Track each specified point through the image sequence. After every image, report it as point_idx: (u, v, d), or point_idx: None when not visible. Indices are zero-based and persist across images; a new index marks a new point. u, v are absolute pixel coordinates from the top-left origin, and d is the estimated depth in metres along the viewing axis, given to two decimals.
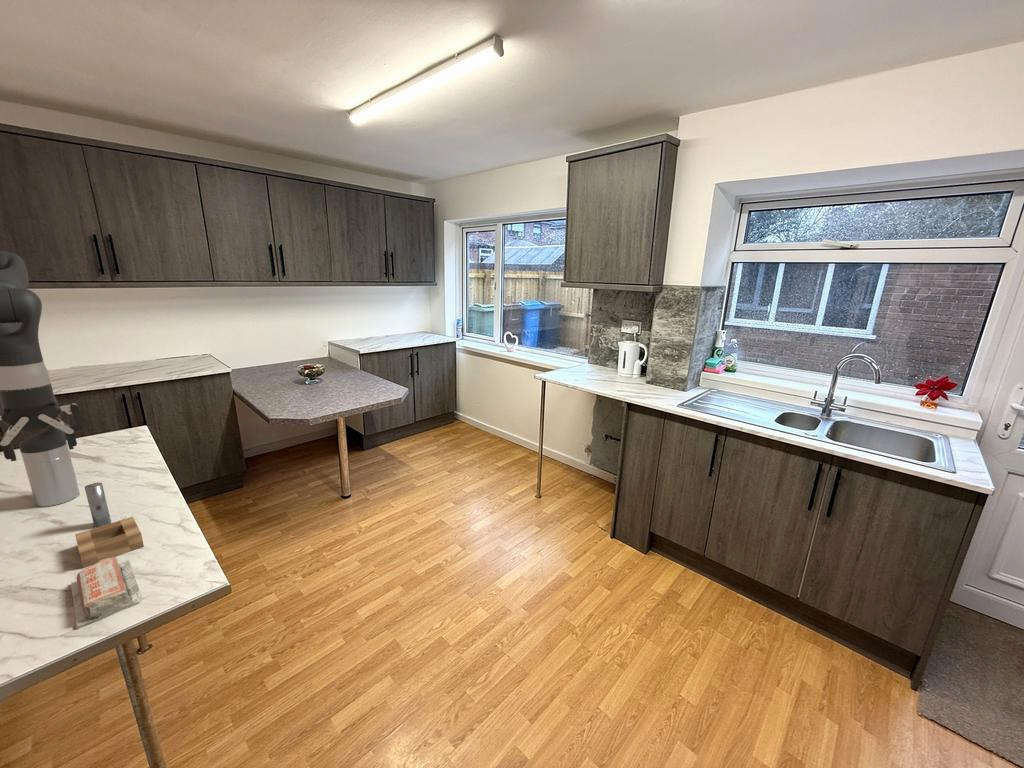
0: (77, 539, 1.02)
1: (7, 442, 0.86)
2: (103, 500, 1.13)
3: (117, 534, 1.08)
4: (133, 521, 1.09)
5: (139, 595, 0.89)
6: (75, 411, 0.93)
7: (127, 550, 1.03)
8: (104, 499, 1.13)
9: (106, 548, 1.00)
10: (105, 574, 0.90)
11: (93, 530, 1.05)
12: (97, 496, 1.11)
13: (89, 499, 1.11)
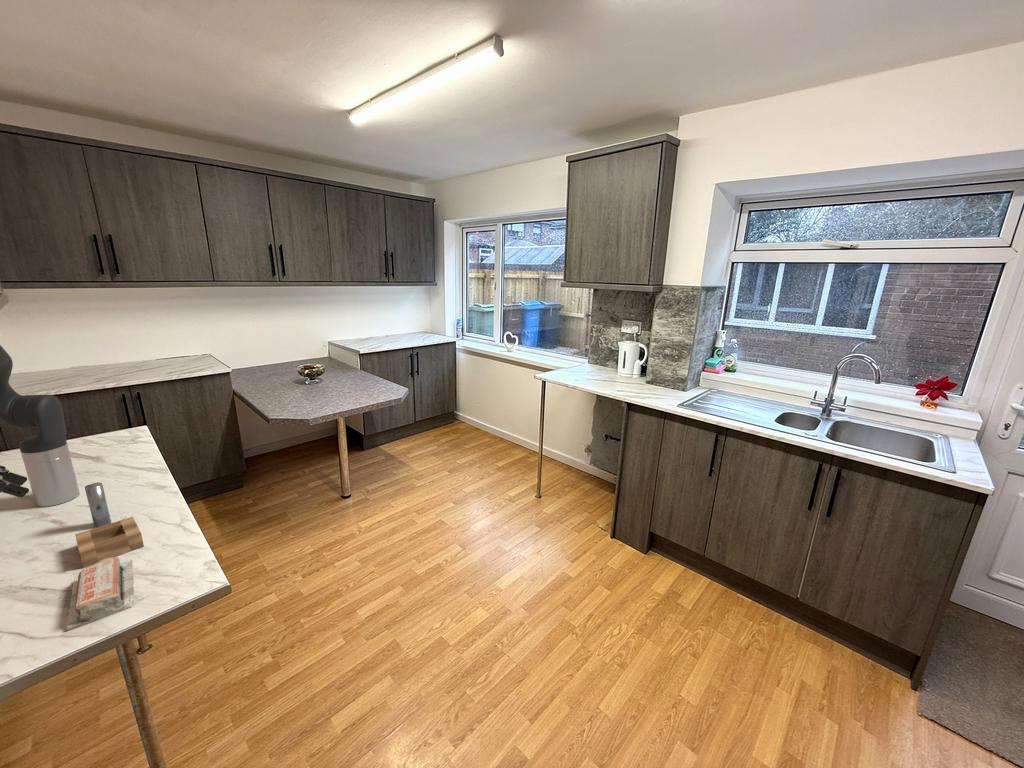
0: (77, 539, 1.02)
1: None
2: (103, 500, 1.13)
3: (117, 534, 1.08)
4: (133, 521, 1.09)
5: (132, 599, 0.88)
6: None
7: (127, 550, 1.03)
8: (104, 499, 1.13)
9: (106, 548, 1.00)
10: (103, 575, 0.90)
11: (93, 530, 1.05)
12: (97, 496, 1.11)
13: (89, 499, 1.11)
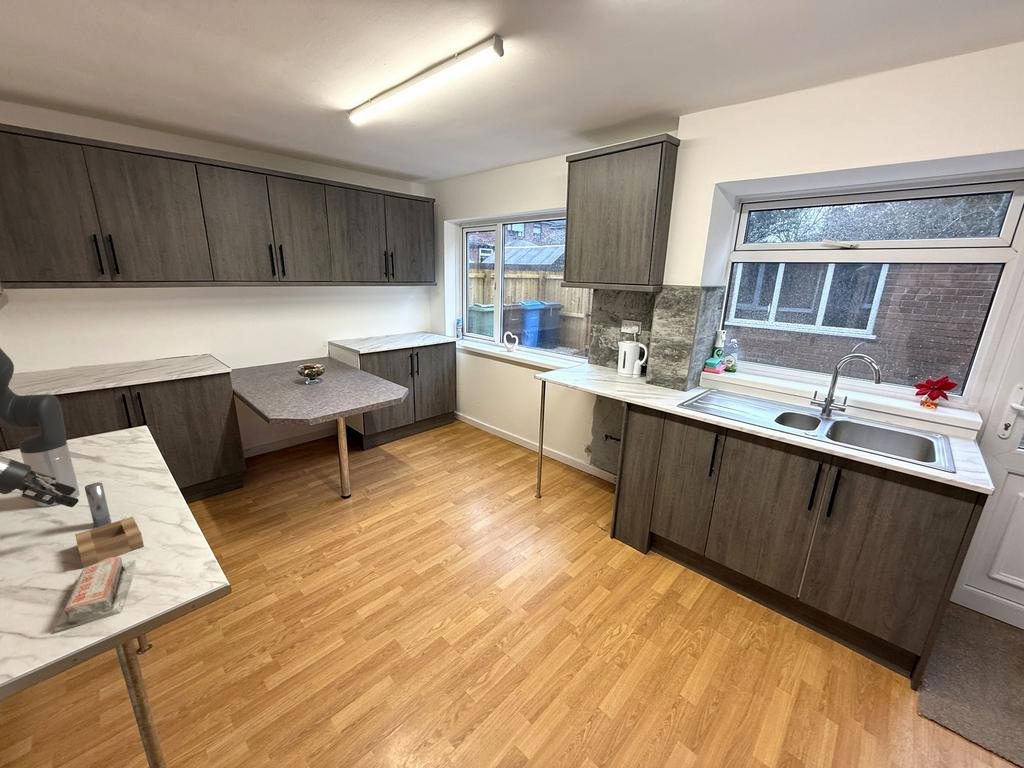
0: (77, 539, 1.02)
1: None
2: (103, 500, 1.13)
3: (117, 534, 1.08)
4: (133, 521, 1.09)
5: (121, 604, 0.86)
6: None
7: (127, 550, 1.03)
8: (104, 499, 1.13)
9: (106, 548, 1.00)
10: (100, 575, 0.90)
11: (93, 530, 1.05)
12: (97, 496, 1.11)
13: (89, 499, 1.11)
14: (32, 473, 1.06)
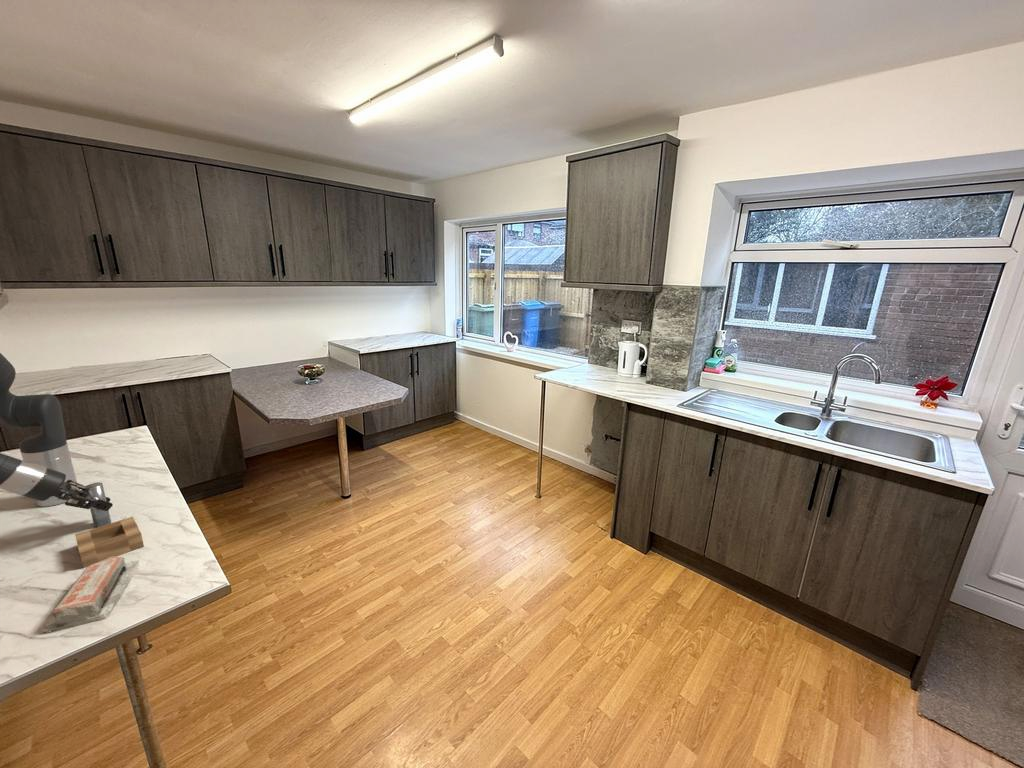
0: (77, 539, 1.02)
1: None
2: None
3: (117, 534, 1.08)
4: (133, 521, 1.09)
5: (109, 609, 0.85)
6: None
7: (127, 550, 1.03)
8: (104, 499, 1.13)
9: (106, 548, 1.00)
10: (97, 576, 0.89)
11: (93, 530, 1.05)
12: (97, 496, 1.11)
13: None
14: (70, 482, 1.12)
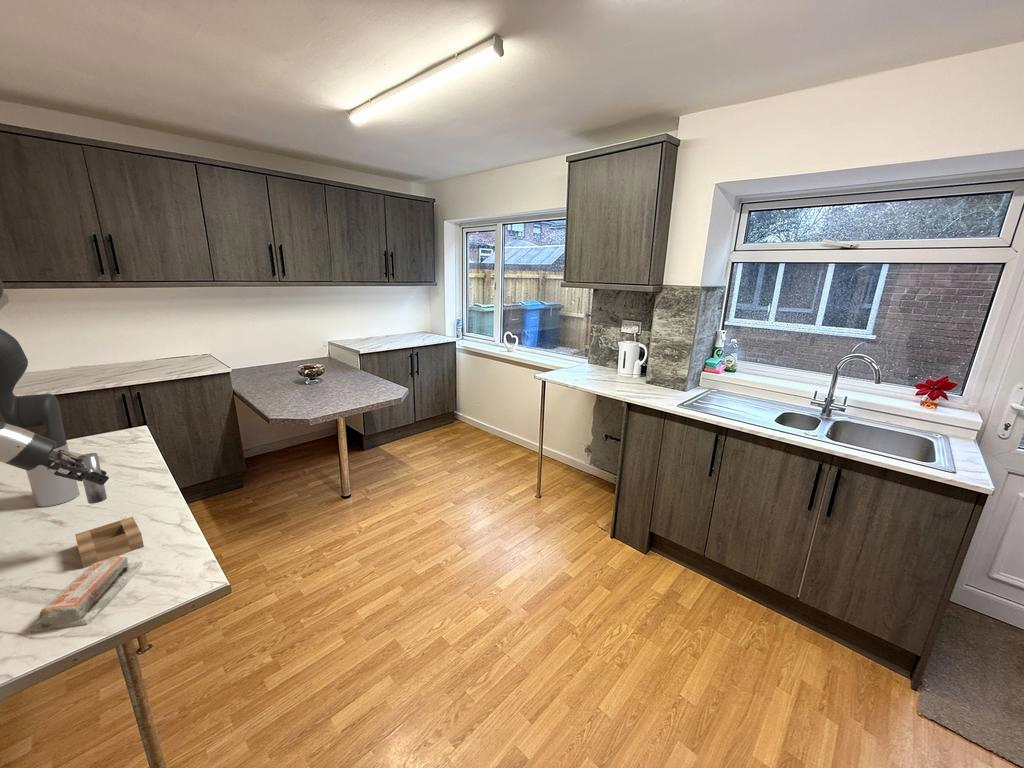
0: (77, 539, 1.02)
1: (79, 472, 1.00)
2: (98, 472, 1.01)
3: (117, 534, 1.08)
4: (133, 521, 1.09)
5: (93, 614, 0.83)
6: None
7: (127, 550, 1.03)
8: (99, 471, 1.01)
9: (106, 548, 1.00)
10: (93, 577, 0.89)
11: (93, 530, 1.05)
12: (91, 468, 0.99)
13: None
14: None
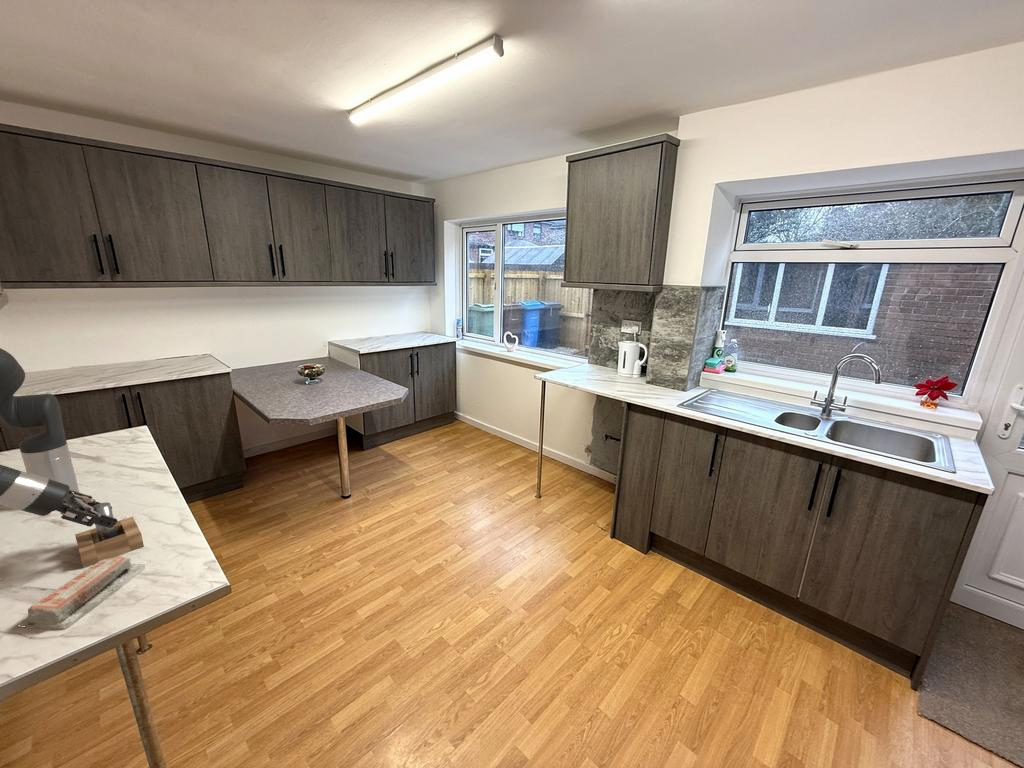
0: (77, 539, 1.02)
1: None
2: None
3: None
4: (133, 521, 1.09)
5: (72, 619, 0.82)
6: None
7: (127, 550, 1.03)
8: None
9: (106, 548, 1.00)
10: (89, 576, 0.89)
11: (93, 530, 1.05)
12: None
13: None
14: (69, 492, 1.01)
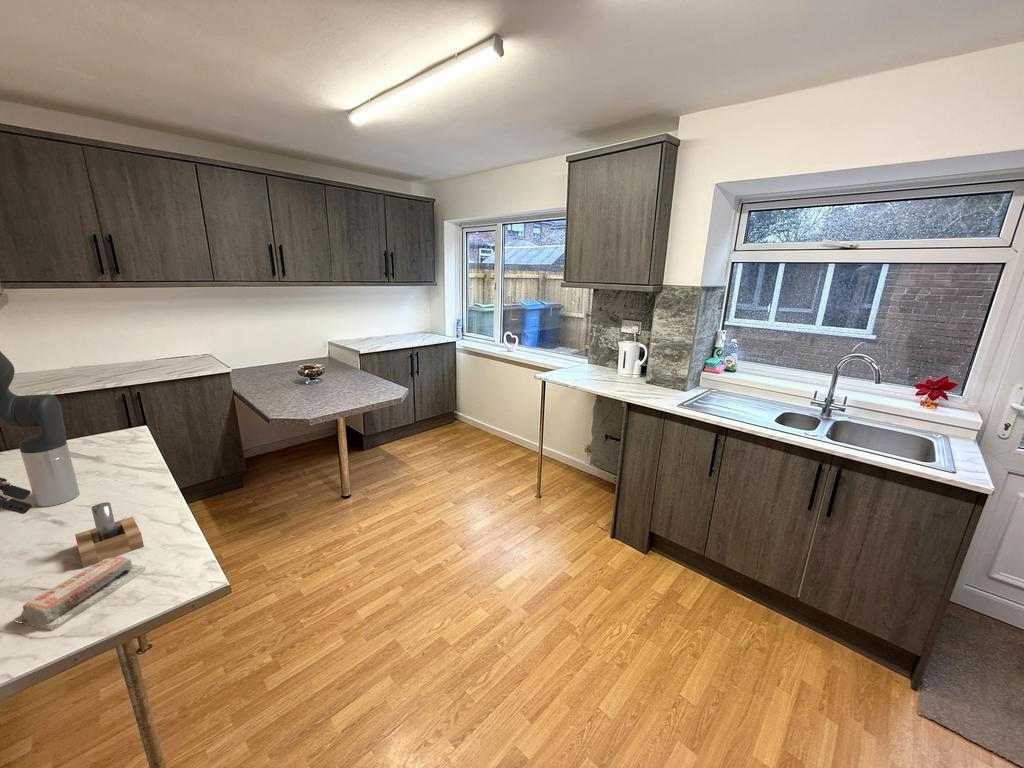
0: (77, 539, 1.02)
1: None
2: (111, 522, 1.03)
3: None
4: (133, 521, 1.09)
5: (60, 621, 0.82)
6: None
7: (127, 550, 1.03)
8: (112, 520, 1.04)
9: (106, 548, 1.00)
10: (87, 576, 0.89)
11: (93, 530, 1.05)
12: (105, 518, 1.02)
13: (96, 521, 1.01)
14: None
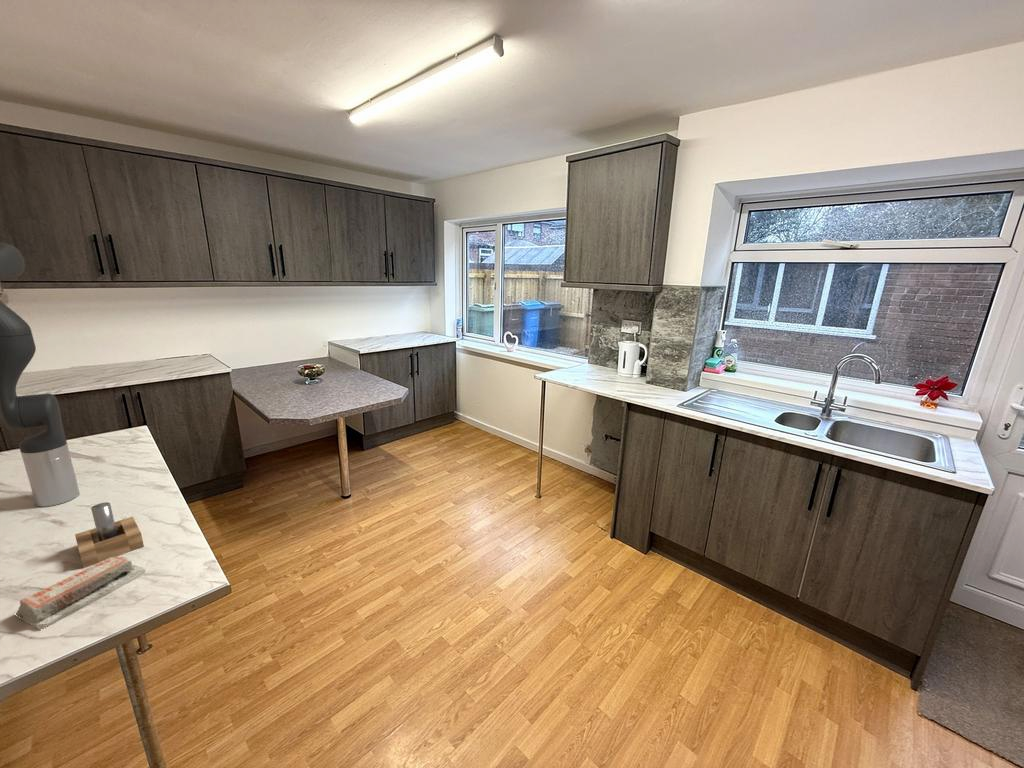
0: (77, 539, 1.02)
1: None
2: (111, 522, 1.03)
3: (117, 534, 1.08)
4: (133, 521, 1.09)
5: (48, 621, 0.82)
6: None
7: (127, 550, 1.03)
8: (112, 520, 1.04)
9: (106, 548, 1.00)
10: (85, 575, 0.90)
11: (93, 530, 1.05)
12: (105, 518, 1.02)
13: (96, 521, 1.01)
14: None
